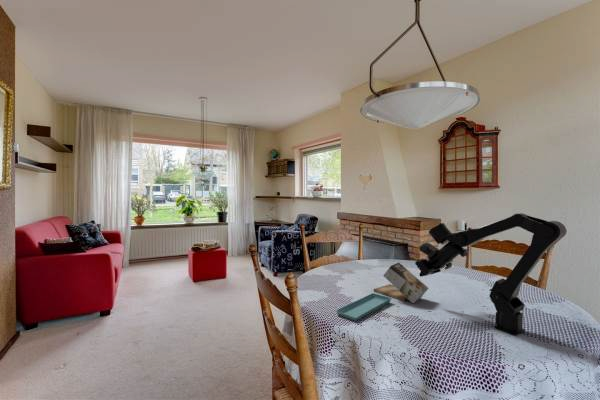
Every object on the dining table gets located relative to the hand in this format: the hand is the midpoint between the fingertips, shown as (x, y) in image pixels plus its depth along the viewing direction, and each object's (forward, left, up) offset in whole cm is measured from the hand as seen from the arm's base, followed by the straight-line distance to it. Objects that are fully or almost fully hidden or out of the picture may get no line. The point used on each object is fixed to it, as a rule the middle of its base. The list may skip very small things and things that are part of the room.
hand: (420, 275), depth 124 cm
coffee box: (-1, 0, -8) cm, 8 cm away
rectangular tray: (+5, +26, -11) cm, 28 cm away
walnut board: (+12, +1, -11) cm, 16 cm away
